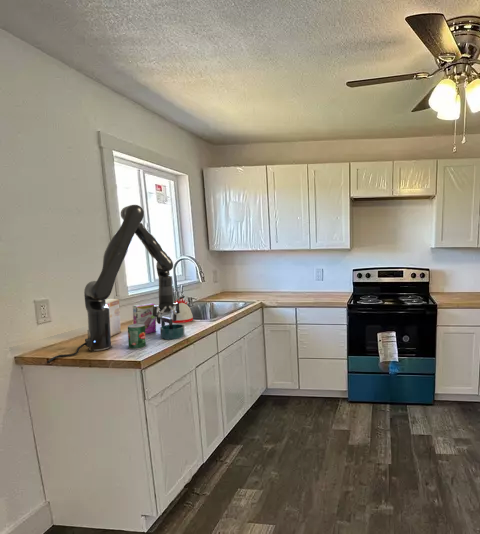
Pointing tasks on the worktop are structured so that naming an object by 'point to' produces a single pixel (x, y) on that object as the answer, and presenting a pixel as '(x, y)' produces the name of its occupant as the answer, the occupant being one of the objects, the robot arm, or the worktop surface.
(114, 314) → the coffeecake box
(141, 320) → the candy bar box
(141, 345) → the canned tomato
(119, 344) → the worktop surface
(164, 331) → the bowl
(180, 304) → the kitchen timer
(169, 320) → the dark elongated piece
